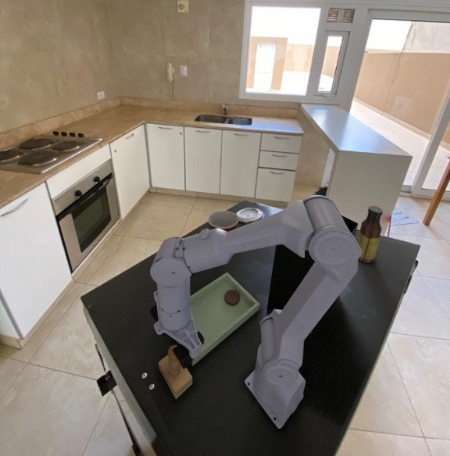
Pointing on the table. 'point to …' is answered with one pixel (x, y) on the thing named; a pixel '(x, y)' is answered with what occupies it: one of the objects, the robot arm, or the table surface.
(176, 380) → the wooden stamp
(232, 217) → the plastic cup
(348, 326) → the table surface
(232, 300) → the grime patch
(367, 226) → the sauce bottle
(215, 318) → the tray
